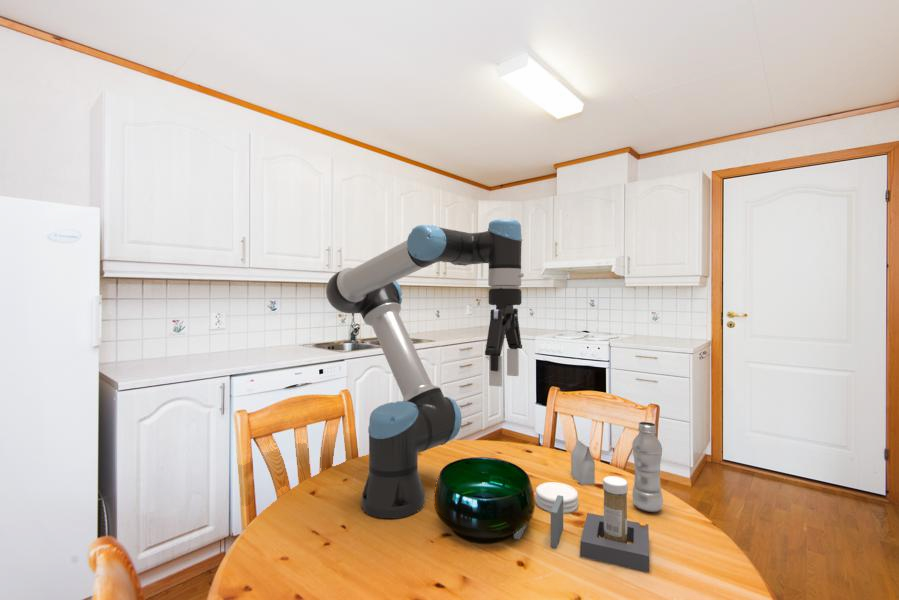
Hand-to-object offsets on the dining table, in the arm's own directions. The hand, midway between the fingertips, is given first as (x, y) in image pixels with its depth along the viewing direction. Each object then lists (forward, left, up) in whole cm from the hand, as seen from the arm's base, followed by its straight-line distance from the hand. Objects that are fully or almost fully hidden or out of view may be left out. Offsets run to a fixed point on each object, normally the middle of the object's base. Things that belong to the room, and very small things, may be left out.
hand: (504, 380), depth 99 cm
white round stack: (+10, +10, -31) cm, 34 cm away
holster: (+9, -5, -31) cm, 32 cm away
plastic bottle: (+30, +16, -31) cm, 46 cm away
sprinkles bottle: (+24, -4, -31) cm, 39 cm away
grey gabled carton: (+14, +27, -31) cm, 43 cm away
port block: (+24, -4, -31) cm, 39 cm away
